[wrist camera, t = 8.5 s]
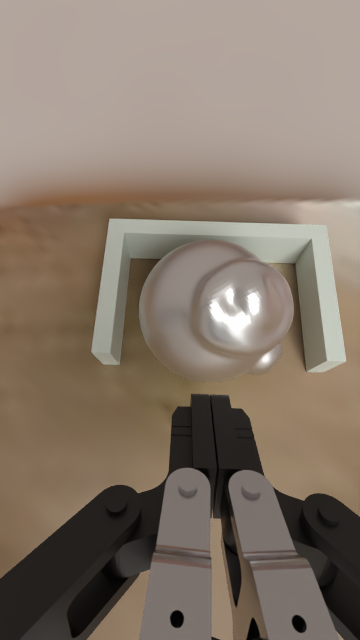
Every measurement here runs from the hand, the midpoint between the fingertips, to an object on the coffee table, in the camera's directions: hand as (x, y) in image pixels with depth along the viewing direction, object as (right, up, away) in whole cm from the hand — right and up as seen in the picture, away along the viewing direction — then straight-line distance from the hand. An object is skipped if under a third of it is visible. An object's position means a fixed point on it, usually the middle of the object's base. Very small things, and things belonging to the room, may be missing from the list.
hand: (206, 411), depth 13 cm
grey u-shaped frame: (+2, +5, +12) cm, 13 cm away
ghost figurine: (+1, +2, +11) cm, 12 cm away
